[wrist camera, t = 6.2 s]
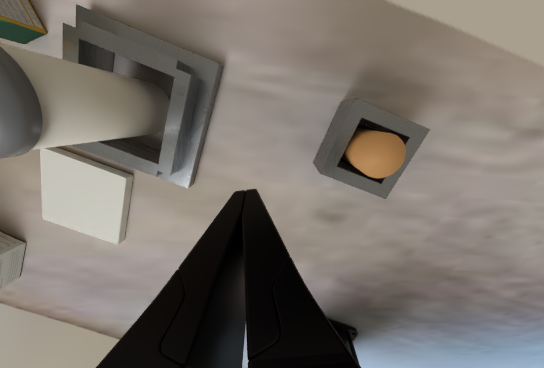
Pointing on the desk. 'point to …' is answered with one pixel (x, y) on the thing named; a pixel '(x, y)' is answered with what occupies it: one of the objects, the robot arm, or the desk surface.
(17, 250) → the supplement box
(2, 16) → the crayon box
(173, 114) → the frame
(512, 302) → the desk surface
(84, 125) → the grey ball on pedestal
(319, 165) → the block
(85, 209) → the pad
